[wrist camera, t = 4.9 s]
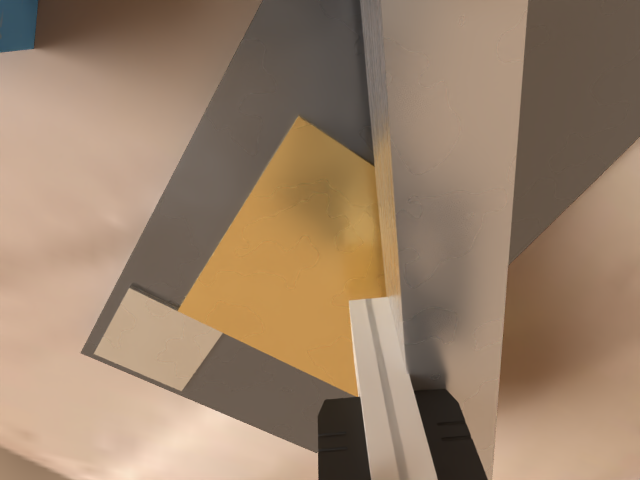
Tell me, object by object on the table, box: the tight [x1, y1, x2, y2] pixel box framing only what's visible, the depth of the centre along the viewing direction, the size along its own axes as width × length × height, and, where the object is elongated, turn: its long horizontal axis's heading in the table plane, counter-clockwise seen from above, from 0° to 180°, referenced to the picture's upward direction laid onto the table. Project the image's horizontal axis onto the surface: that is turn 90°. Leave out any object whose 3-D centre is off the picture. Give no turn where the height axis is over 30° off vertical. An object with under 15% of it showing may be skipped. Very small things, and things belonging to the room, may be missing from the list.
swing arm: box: [360, 0, 528, 480], centre depth 11 cm, size 20×3×5 cm, turn 8°
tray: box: [81, 0, 640, 453], centre depth 15 cm, size 22×12×2 cm, turn 147°
